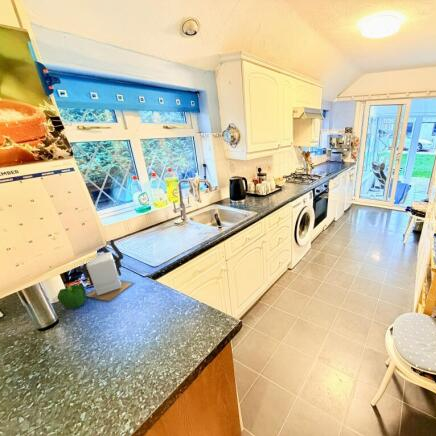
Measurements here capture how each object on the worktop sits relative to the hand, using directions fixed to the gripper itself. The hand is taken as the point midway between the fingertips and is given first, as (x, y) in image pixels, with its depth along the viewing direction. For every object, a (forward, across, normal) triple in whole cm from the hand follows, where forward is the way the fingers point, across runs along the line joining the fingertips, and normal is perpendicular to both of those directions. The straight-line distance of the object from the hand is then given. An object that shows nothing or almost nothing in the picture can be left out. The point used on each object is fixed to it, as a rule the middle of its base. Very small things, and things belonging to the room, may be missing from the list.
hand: (106, 279), depth 102 cm
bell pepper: (+5, -12, +6) cm, 14 cm away
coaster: (+3, 0, +8) cm, 8 cm away
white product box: (+2, 0, +6) cm, 7 cm away
